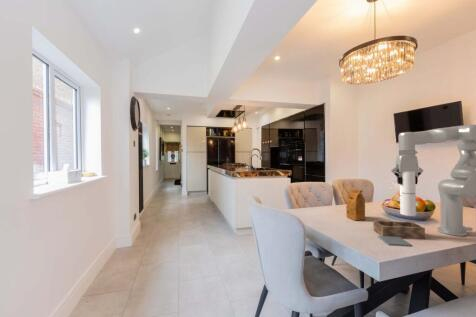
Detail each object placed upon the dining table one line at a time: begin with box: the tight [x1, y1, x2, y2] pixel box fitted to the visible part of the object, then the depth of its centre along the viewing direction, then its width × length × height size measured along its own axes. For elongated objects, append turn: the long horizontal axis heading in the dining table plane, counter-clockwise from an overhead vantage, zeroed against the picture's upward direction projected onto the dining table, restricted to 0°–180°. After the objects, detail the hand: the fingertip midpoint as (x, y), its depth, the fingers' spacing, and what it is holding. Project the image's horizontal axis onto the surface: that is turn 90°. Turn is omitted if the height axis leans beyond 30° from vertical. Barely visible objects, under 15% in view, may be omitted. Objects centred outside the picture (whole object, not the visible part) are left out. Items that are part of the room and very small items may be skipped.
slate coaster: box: [377, 235, 413, 247], centre depth 116 cm, size 11×11×1 cm
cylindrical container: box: [399, 172, 417, 217], centre depth 125 cm, size 7×7×25 cm
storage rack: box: [372, 220, 426, 240], centre depth 126 cm, size 21×11×6 cm, turn 81°
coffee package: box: [345, 187, 366, 221], centre depth 159 cm, size 10×12×22 cm
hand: (407, 183), depth 125 cm, fingers closed on cylindrical container, 7 cm apart
